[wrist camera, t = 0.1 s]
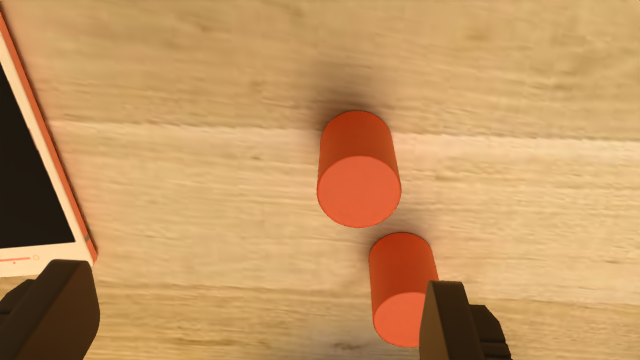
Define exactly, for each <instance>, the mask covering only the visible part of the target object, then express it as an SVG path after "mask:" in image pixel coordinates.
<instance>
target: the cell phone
mask: <svg viewBox="0 0 640 360" xmlns="http://www.w3.org/2000/svg"><path fill="white" fill-rule="evenodd" d="M53 259H68V260H86V261H88V262H89V264H90V266H91V267H92V266H93V264H94V263H95V261H96V260H97V253H96V251H95V249H94V246H93V244H92V242H91V240H90V237H89V235H88V232H87V230H86V227H85V225H84V222H83V220H82V217H81V214H80V212H79V209H78V207H77V204H76V202H75V199H74V197H73V194H72V192H71V189H70V187H69V184H68V182H67V179H66V177H65V174H64V171H63V169H62V166H61V164H60V161H59V159H58V156H57V154H56V151H55V149H54V146H53V144H52V141H51V139H50V136H49V134H48V131H47V128H46V126H45V123H44V121H43V118H42V116H41V113H40V111H39V108H38V106H37V103H36V101H35V98H34V96H33V93H32V91H31V88H30V85H29V83H28V80H27V78H26V75H25V73H24V70H23V68H22V65H21V63H20V60H19V58H18V55H17V53H16V50H15V48H14V45H13V42H12V40H11V37H10V35H9V32H8V30H7V27H6V25H5V22H4V20H3V17H2V15H1V12H0V277H11V276H23V275H35V274H40V273H41V272H42V271H43V270H44V268H45V267H46V266H47V264H48V263H49V262H50V261H51V260H53Z"/></svg>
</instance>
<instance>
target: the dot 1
mask: <svg viewBox="0 0 640 360" xmlns="http://www.w3.org/2000/svg"><path fill="white" fill-rule="evenodd" d="M369 271H370V285H371V300H372V315H373V325H374V328H375V330H376V332H377V333H378V335H379V336H380V337H381V338H382V339H384V340H385V341H387V342H388V343H391V344H393V345H396V346H400V347H417V346H419V332H420V325H421V319H422V313H423V307H424V301H425V295H426V289H427V285H428V282H429V280H438V281H439V278H438V274H437V270H436V266H435V262H434V257H433V253H432V250H431V248H430V246H429V245H428V243H427V242H426V241H424V240H423V239H422V238H420V237H418V236H416V235H414V234H410V233H395V234H391V235H388V236H386V237H384V238H382V239H380V240H379V241H378V242H377V243H376V244H375V245H374V246H373V248H372V250H371V252H370V255H369Z"/></svg>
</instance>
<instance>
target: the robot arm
mask: <svg viewBox="0 0 640 360" xmlns="http://www.w3.org/2000/svg"><path fill="white" fill-rule="evenodd" d="M99 322H100V309H99V304H98V299H97V294H96V289H95V284H94V279H93V274H92V269H91V266H90V264H89V262H88V261H86V260H68V259H53V260H51V261H50V262H49V263H48V264H47V266H46V267H45V268H44V270H43V271H42V272H41V273H40V275H39V276H38V277H37V279H36V280H33V279H27V280H26V281H24V282H23V283H21V284H20V285H18V286H17V287H16V288H14V289H13V290H11V291H10V292H8V293H7V294H6V295H5V296H4V298H3V299H2V300H1V301H0V360H83V358H84V356H85V355H86V353H87V351H88V349H89V347H90V345H91V344H92V342H93V340H94V338H95V336H96V334H97V331H98V327H99ZM419 353H420V360H513V359H511V354H510V351H509V348H508V345H507V344H506V340H505V337H504V334H503V331H502V328H501V326H500V323H499V321H498V320H497V319H496V318H495V317H494V315H493V314H492V313H491V312H490V311H489V310H488V309H487V308H486V306H485V305H471V304H469V303H468V299H467V296H466V292H465V289H464V286H463V284H462V282H456V281H438V280H429V282H428V285H427V289H426V295H425V301H424V307H423V313H422V319H421V325H420V332H419Z"/></svg>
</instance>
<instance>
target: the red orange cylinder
mask: <svg viewBox="0 0 640 360" xmlns="http://www.w3.org/2000/svg"><path fill="white" fill-rule="evenodd" d="M400 197H401V183H400V177H399V172H398V167H397V162H396V156H395V151H394V146H393V141H392V136H391V133H390V130H389V128H388V127H387V125H386V124H385V123H384V122H383V121H382V120H381V119H380V118H379V117H377V116H375V115H373V114H371V113H368V112H364V111H350V112H346V113H343V114H341V115H339V116H337V117H335V118H334V119H333V120H332V121H330V122H329V124H328V125H327V126H326V128H325V129H324V131H323V134H322V137H321V145H320V157H319V169H318V181H317V198H318V202H319V204H320V206H321V208H322V210H323V211H324V212H325V213H326V215H327V216H328V217H330V218H331V219H332V220H334V221H335V222H337V223H339V224H341V225H344V226H348V227H354V228H363V227H369V226H373V225H376V224H378V223H380V222H382V221H384V220H385V219H387V218H388V217H389V216H390V215H391V214H392V213H393V212H394V210H395V209H396V207H397V206H398V204H399V201H400Z"/></svg>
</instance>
